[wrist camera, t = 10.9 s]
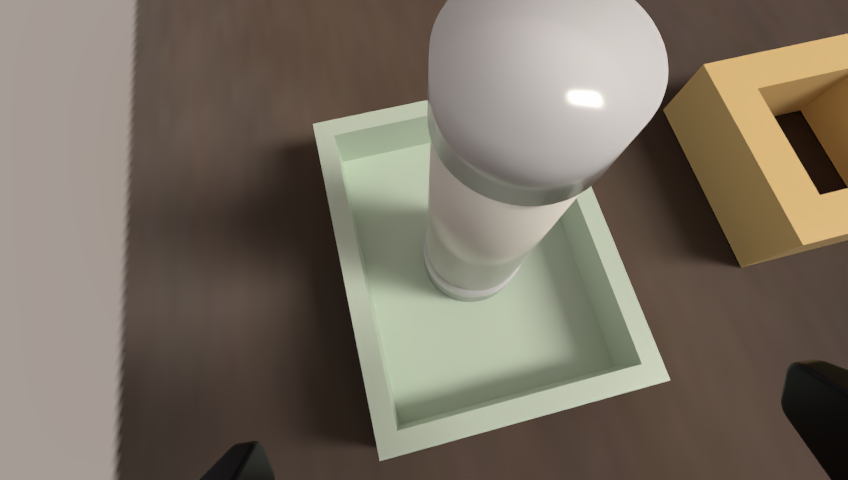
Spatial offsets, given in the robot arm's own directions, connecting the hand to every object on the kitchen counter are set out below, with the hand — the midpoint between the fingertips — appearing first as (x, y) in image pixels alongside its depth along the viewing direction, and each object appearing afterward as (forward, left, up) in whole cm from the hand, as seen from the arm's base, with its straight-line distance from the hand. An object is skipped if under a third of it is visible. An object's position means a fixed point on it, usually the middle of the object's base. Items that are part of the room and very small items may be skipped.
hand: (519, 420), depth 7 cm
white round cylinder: (+6, -2, -11) cm, 13 cm away
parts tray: (+6, -2, -12) cm, 13 cm away
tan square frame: (+7, -19, -12) cm, 23 cm away
